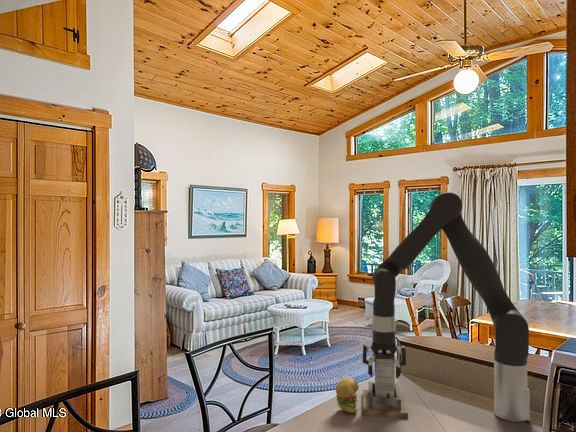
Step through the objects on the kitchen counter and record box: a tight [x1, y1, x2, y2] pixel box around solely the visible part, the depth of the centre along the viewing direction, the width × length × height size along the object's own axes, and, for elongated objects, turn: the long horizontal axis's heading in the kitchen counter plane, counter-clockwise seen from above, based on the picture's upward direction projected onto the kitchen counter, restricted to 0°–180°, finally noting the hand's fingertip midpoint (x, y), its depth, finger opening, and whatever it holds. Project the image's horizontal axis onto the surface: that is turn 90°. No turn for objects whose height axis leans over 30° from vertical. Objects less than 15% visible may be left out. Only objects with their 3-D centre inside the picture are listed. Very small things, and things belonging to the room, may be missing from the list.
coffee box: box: [374, 354, 396, 398], centre depth 143 cm, size 9×6×16 cm
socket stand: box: [362, 381, 409, 419], centre depth 143 cm, size 14×16×5 cm
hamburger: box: [335, 375, 359, 414], centre depth 138 cm, size 8×7×12 cm
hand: (384, 376), depth 143 cm, fingers open, 8 cm apart
